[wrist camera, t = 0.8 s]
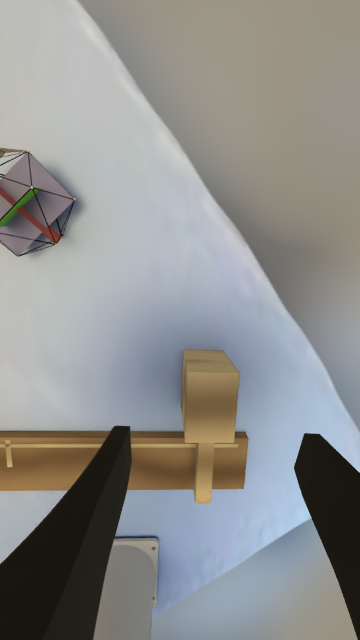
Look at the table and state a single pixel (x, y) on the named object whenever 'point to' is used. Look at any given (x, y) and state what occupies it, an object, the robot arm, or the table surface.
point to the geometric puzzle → (29, 204)
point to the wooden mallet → (208, 410)
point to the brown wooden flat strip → (146, 469)
